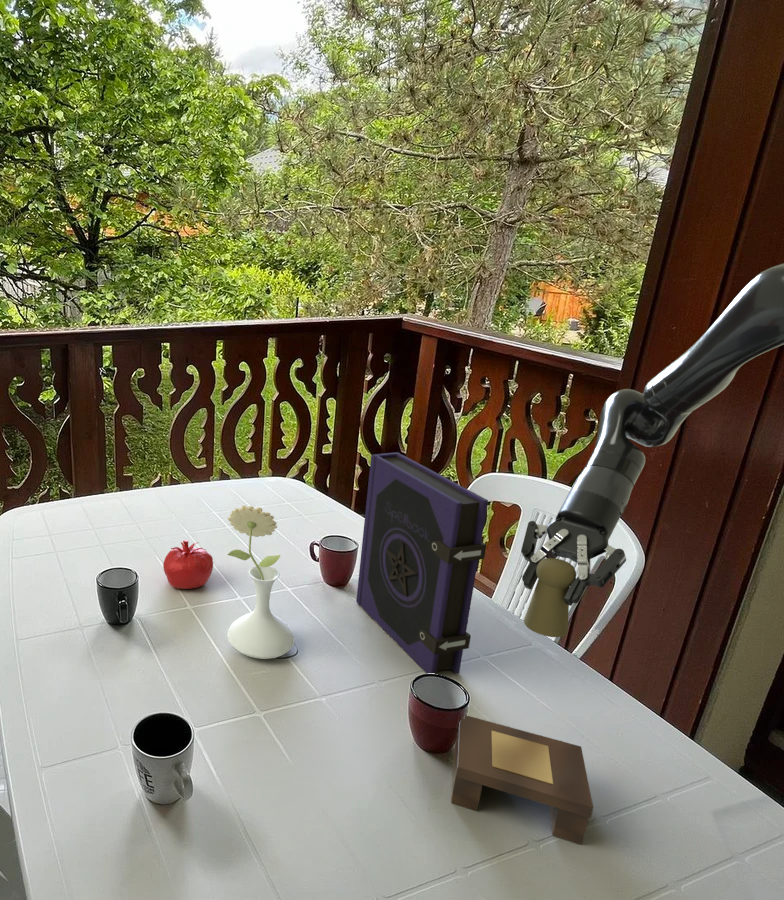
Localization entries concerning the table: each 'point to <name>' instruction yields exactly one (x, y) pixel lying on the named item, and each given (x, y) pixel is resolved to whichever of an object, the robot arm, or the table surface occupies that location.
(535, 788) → the shelf
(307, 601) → the table surface
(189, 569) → the pomegranate
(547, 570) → the cork
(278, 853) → the table surface
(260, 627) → the flower in vase
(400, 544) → the book
